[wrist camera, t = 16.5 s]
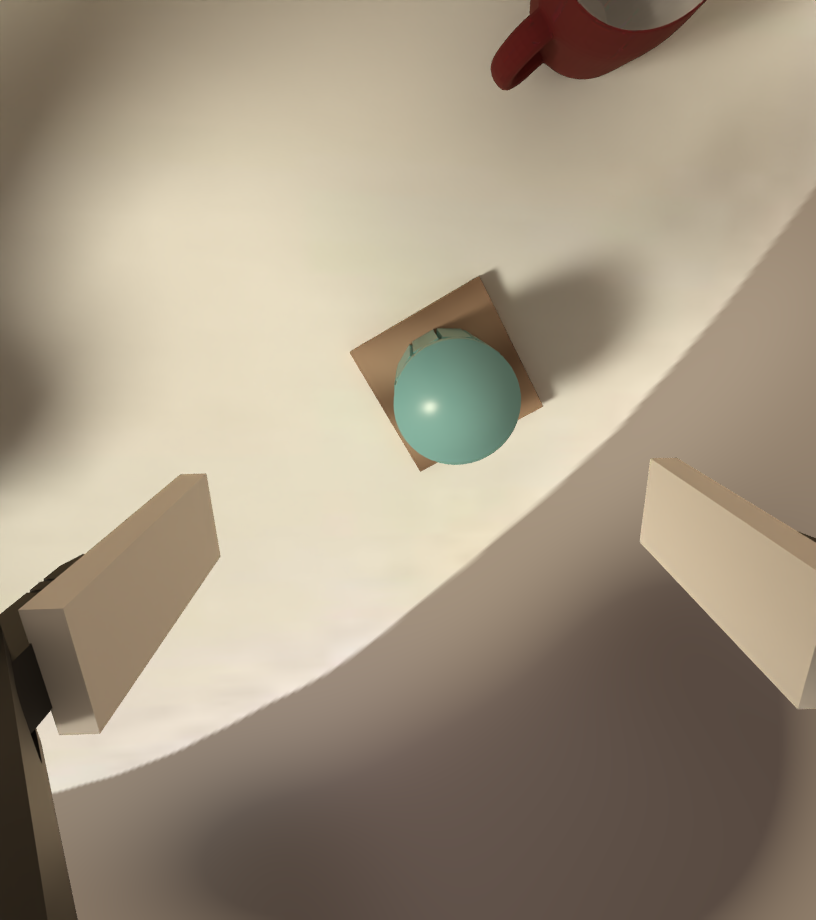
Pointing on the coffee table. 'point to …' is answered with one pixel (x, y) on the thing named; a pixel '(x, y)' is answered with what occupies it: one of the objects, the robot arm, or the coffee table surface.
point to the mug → (586, 36)
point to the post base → (453, 311)
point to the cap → (455, 397)
